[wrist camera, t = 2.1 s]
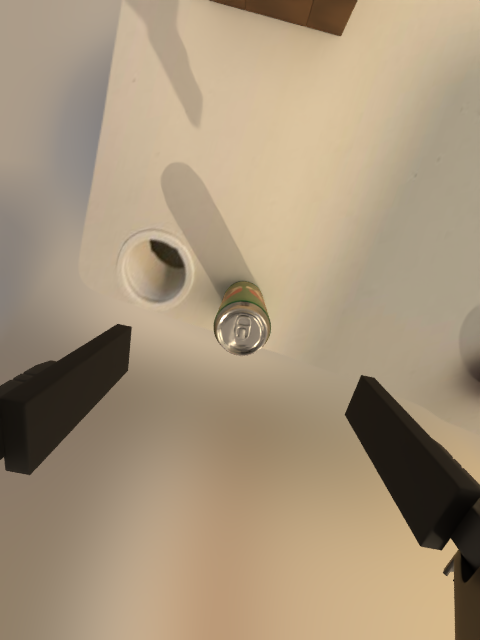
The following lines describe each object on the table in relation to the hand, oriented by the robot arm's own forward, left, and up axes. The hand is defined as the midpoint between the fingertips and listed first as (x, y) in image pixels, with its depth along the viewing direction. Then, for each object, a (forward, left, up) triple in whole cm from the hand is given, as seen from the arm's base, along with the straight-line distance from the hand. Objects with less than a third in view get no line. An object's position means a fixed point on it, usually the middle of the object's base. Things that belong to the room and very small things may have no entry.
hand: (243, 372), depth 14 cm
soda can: (0, 0, -19) cm, 19 cm away
